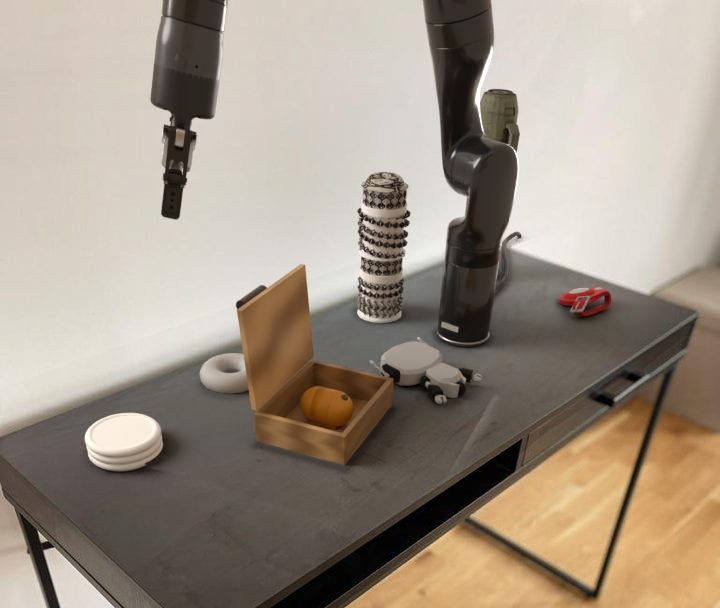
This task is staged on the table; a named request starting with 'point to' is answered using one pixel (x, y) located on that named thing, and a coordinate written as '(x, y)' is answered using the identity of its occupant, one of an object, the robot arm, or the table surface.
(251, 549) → the table surface
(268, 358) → the lid
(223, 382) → the donut
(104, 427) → the coaster
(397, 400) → the table surface
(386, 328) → the table surface
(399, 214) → the decorative candle
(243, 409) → the table surface
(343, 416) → the mango
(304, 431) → the wooden box
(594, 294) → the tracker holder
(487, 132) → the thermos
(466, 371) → the robot toy
